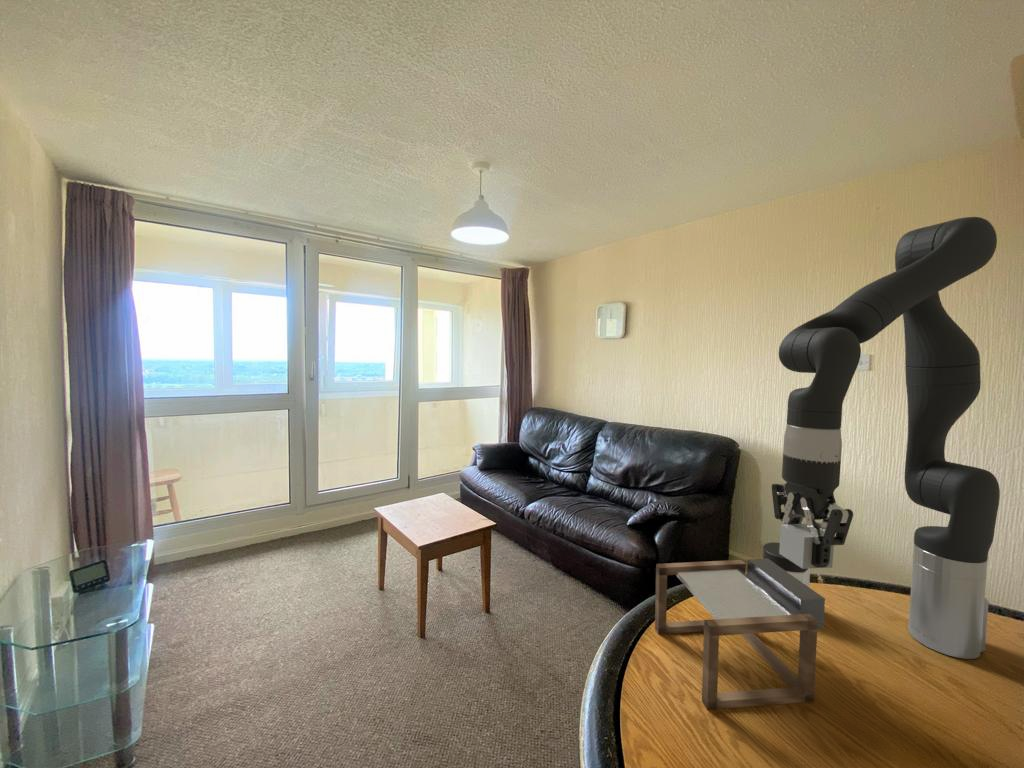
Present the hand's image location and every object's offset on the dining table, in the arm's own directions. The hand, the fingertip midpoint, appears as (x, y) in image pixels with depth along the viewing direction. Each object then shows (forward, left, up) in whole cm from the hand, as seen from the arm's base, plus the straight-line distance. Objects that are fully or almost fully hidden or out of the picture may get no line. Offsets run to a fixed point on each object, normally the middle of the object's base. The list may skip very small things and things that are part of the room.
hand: (804, 557), depth 68 cm
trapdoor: (+7, -4, -11) cm, 13 cm away
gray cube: (0, 0, 0) cm, 0 cm away
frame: (+10, -4, -20) cm, 23 cm away
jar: (-11, -18, -20) cm, 29 cm away
